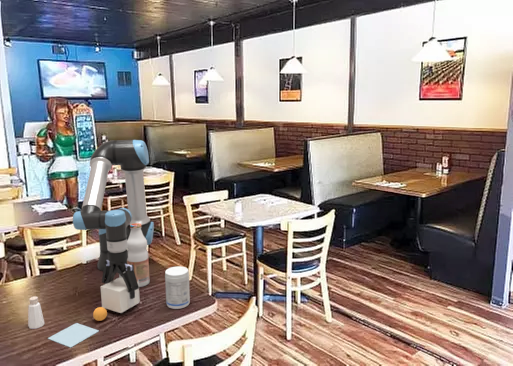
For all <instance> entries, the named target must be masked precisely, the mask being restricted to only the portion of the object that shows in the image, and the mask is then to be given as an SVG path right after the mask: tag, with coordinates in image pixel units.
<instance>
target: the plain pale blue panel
mask: <svg viewBox="0 0 513 366" xmlns="http://www.w3.org/2000/svg"><path fill="white" fill-rule="evenodd" d="M99 332H100V330H99V329H96V328H92V327H90V326H87V325H84V324H80V323H78V322H75V323H74V324H72V325H70V326H68V327H65V328H64V329H62V330H60V331H58V332H57V333H55V334H53V335H51V336H49V337H47V340H50V341H53V342H55V343H57V344H60V345H62V346H65V347H68V348H70V349H71V348H73V347H75V346H76V345H77V344H80V343H81V342H83V341H84V340H86V339H88V338H90V337H92V336H93V335H95V334H97V333H99Z"/></svg>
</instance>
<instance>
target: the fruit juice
mask: <svg viewBox="0 0 513 366" xmlns="http://www.w3.org/2000/svg"><path fill="white" fill-rule="evenodd" d="M130 229H131V232H130V235H129V238H128V240H127V247H128V248H127V250H128V259H127V264H129V265H134V273H135V276H136V280H137V282H139V288H142V287H145V286H147V285H149V284H150V279H151V278H150V265H149V264H150V263H149V262H150V260H149V251H148V249H147V248H148V245H147V240H146V238H145V237H144V235H143V233H142V231H141V224H140V223H134V224H131V225H130Z"/></svg>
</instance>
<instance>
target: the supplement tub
mask: <svg viewBox="0 0 513 366" xmlns="http://www.w3.org/2000/svg"><path fill="white" fill-rule="evenodd" d="M189 274H190V272H189V269H188V268H187V267H185V266H180V265H179V266H170V267H168V268H167V269H166V270H165V274H164V281H165V283H164V284H165V303H166V307H168V308H169V309H174V310H179V309H180V310H181V309H184V308H186V307H189V304H190V303H191V302H190V301H191V298H190V275H189Z"/></svg>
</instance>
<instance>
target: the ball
mask: <svg viewBox="0 0 513 366" xmlns="http://www.w3.org/2000/svg"><path fill="white" fill-rule="evenodd" d="M107 311H108V309H106V308H103V307H102V306H98V307H97V308H95V309H94V311H93V312H92V313H93V314H92V317H93V319H94V320H95V321H98V322H99V321H104V320H105V319H106V318H107V316H108V312H107Z"/></svg>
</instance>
